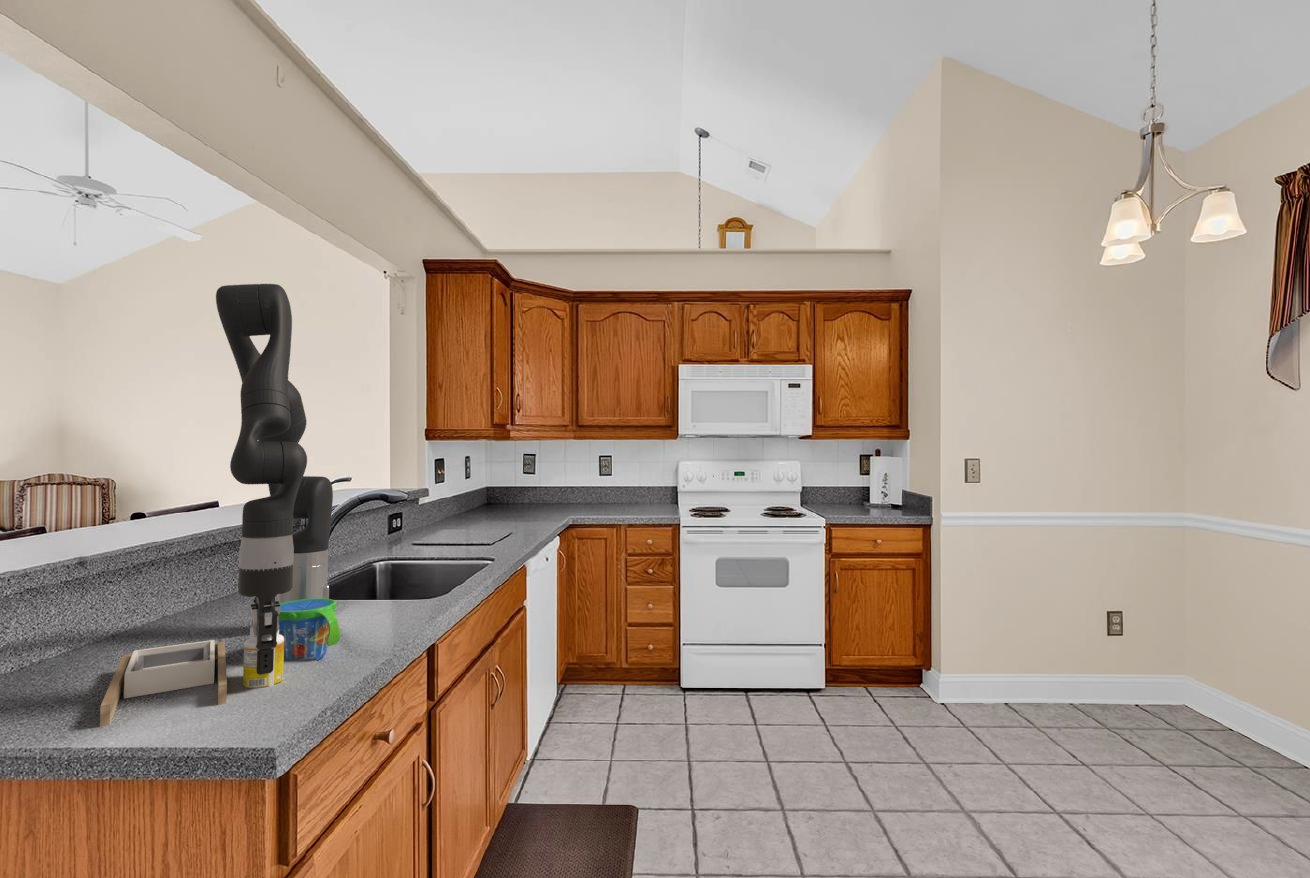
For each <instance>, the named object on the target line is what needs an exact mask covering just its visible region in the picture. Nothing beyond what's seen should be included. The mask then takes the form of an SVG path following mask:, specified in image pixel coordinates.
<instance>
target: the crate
mask: <svg viewBox="0 0 1310 878" xmlns="http://www.w3.org/2000/svg"><path fill="white" fill-rule="evenodd" d="M215 643H216V642H215V639H210V640H204V641H196V642H188V643H183V644H182V643H181V644H174V645H173V644H172V645H166V646H159V647H151V648H143V649H137V650H135V649H134V650H133V652H132V653H131V654H132V656H131V659H130V662H129V664H128V667H127V669H126V672H125V678H124V689H123V699H129V698H135V697H140V696H148V695H152V694H153V695H154V694H159V693H165V692H171V691H177V690H181V689H188V688H194V687H200V686H206V685H213V684H214V683H215V661H216V660H215Z"/></svg>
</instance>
